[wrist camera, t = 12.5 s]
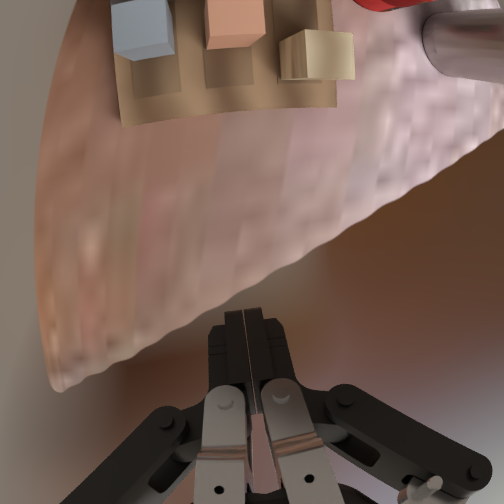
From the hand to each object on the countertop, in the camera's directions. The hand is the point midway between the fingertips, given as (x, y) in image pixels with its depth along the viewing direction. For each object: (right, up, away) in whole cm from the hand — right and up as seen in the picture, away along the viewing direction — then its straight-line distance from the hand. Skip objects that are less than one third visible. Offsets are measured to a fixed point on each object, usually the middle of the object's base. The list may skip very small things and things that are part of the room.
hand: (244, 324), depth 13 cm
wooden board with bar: (-2, +25, +14) cm, 28 cm away
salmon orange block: (-2, +24, +12) cm, 27 cm away
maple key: (+5, +22, +14) cm, 27 cm away
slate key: (-9, +23, +11) cm, 27 cm away
